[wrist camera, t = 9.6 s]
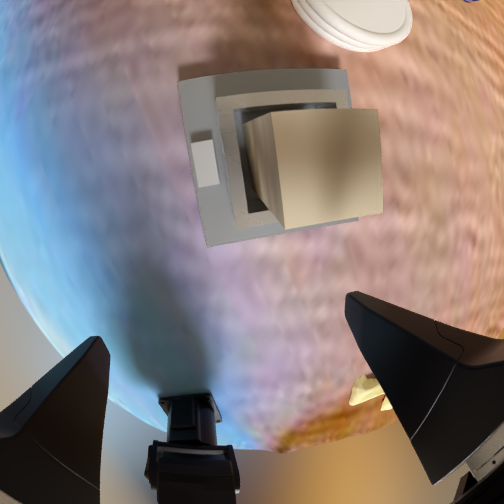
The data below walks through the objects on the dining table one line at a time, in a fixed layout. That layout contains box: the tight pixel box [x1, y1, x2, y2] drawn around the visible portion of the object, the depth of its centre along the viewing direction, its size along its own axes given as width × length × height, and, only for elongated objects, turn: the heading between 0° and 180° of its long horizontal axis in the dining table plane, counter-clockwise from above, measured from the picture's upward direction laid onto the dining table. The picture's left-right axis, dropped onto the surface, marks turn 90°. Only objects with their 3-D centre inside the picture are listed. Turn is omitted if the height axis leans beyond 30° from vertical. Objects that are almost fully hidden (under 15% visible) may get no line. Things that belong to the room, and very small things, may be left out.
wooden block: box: [242, 109, 383, 230], centre depth 14 cm, size 4×4×9 cm
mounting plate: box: [177, 68, 358, 247], centre depth 18 cm, size 12×12×2 cm
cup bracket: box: [215, 89, 349, 229], centre depth 16 cm, size 8×8×4 cm
